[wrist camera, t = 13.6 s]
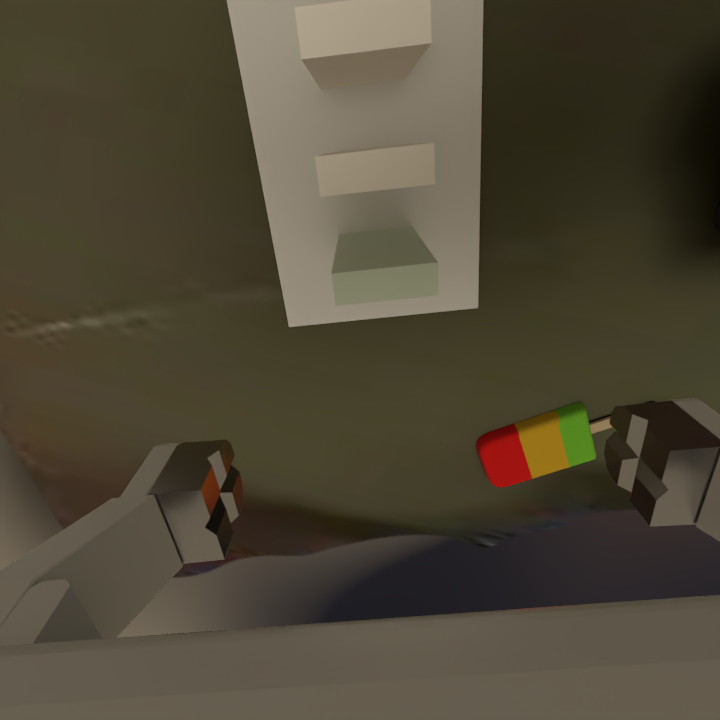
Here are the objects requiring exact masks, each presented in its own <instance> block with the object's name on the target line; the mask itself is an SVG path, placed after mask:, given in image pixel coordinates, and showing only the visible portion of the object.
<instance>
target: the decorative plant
mask: <svg viewBox="0 0 720 720" xmlns="http://www.w3.org/2000/svg"><path fill="white" fill-rule="evenodd" d="M715 227H716V228H717V229H718V230H719V231H720V202H719V205H718V207H717V209H716V217H715Z"/></svg>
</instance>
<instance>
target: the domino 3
mask: <svg viewBox="0 0 720 720" xmlns="http://www.w3.org/2000/svg"><path fill="white" fill-rule="evenodd" d="M331 275H332V282H333V290H334V297H335V305H336V306H340V305H349V304H359V303H369V302H379V301H389V300H398V299H408V298H418V297H428V296H437V295H439V287H438V262H437V260H436V259H435V258H434V256H433V255H432V253H431V252H430V250H429V249H428V248H427V246H426V245H425V243H424V242H423V240H422V239H421V238H420V236H419V235H418V233H417V232H416V230H415V229H414V228H413V226H412V227H402V228H393V229H384V230H375V231H366V232H356V233H347V234H339V236H338V241H337V247H336V252H335V257H334V262H333V267H332V273H331Z"/></svg>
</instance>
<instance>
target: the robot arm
mask: <svg viewBox="0 0 720 720" xmlns="http://www.w3.org/2000/svg"><path fill="white" fill-rule="evenodd" d="M609 423H610V425H611V426H612V427H613V429H614V430H615V432H614V433H613V434H612V435H611V436H610V437H609V438H608V439H607V440H606V444H605V451H604V455H605V461H606V466H607V469H608V471H609V473H610V475H611V477H612V478H613V480H614V481H615V482H616V484H617V485H619V486H621V487H623V488H624V489H626V490H628V491H630V492H631V497H630V502H631V503H632V504H633V506H634V507H635V508H636V510H637V511H638V512H639V513H640V515H641V516H642V517H643V519H644V520H645V521H646V522H647V524H648V525H649V526H669V525H688V524H689V525H690V524H696V527H698V528H699V529H701V530H702V531H704V532H706V533H707V534H709V535H710V536H712V537H714V538H715V539H717V540H718V541H720V414H718V413H717V412H715V411H714V410H713V409H711V408H710V407H709V406H707V405H706V404H705V403H703V402H702V401H701V400H698V399H694V398H684V399H675V400H667V401H663V402H653V403H643V404H633V405H623V406H615V408H614V409H613V411H612V413H611V417H610V422H609ZM234 456H235V455H234V452H233V449H232V446H231V443H230V442H229V441H227V440H215V441H199V442H184V443H172V444H161V445H158V446H155V447H154V448H153V449H152V451H151V452H150V454H149V455H148V456H147V458H146V459H145V461H144V462H143V464H142V465H141V467H140V468H139V470H138V471H137V473H136V474H135V476H134V477H133V479H132V480H131V482H130V483H129V485H128V486H127V488H126V489H125V490H124V492H123V493H122V495H121V496H120V498H112V499H110V500H109V501H107V502H106V503H104V504H103V505H101V506H100V507H98V508H96V509H95V510H93V511H92V512H90V513H89V514H87V515H86V516H84V517H83V518H81V519H80V520H78V521H76V522H75V523H73V524H72V525H70V526H69V527H67V528H66V529H64V530H63V531H61V532H59V533H58V534H56V535H55V536H53V537H52V538H50V539H49V540H47V541H46V542H44V543H43V544H41V545H39V546H38V547H36V548H35V549H33V550H32V551H30V552H29V553H27V554H26V555H24V556H22V557H21V558H19V559H18V560H16V561H15V562H13V563H12V564H10V565H9V566H7V567H6V568H4V569H2V570H1V571H0V720H720V595H714V596H699V597H686V598H670V599H656V600H642V601H628V602H614V603H601V604H586V605H571V606H558V607H543V608H528V609H514V610H501V611H487V612H472V613H458V614H444V615H430V616H416V617H402V618H388V619H374V620H360V621H346V622H332V623H318V624H305V625H290V626H277V627H262V628H248V629H233V630H219V631H207V632H191V633H178V634H163V635H150V636H137V637H121V638H116V637H117V636H118V635H119V634H120V633H121V632H122V631H123V630H124V629H125V628H126V627H127V625H129V623H130V622H131V621H132V620H133V619H134V618H135V617H136V616H137V615H138V614H139V613H140V611H142V609H143V608H144V607H145V606H146V605H147V604H148V603H149V602H150V601H151V600H152V599H153V598H154V596H155V595H156V594H157V593H158V592H159V591H160V590H161V589H162V588H163V587H164V586H165V585H166V584H167V583H168V582H169V581H170V579H171V578H172V577H173V576H174V575H175V574H176V573H177V572H178V571H179V570H180V569H181V568H182V567H183V564H185V563H194V562H204V561H213V560H223V559H225V557H226V554H227V550H228V547H229V544H230V541H231V538H232V535H233V529H232V526H231V522H232V521H233V520H234V519H235V518H236V517H237V516H239V513H240V509H241V506H242V497H243V487H242V480H241V476H240V472H239V471H238V470H237V469H236V468H234V467H233V466H232V465H231V464H232V461H233V458H234Z"/></svg>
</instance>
